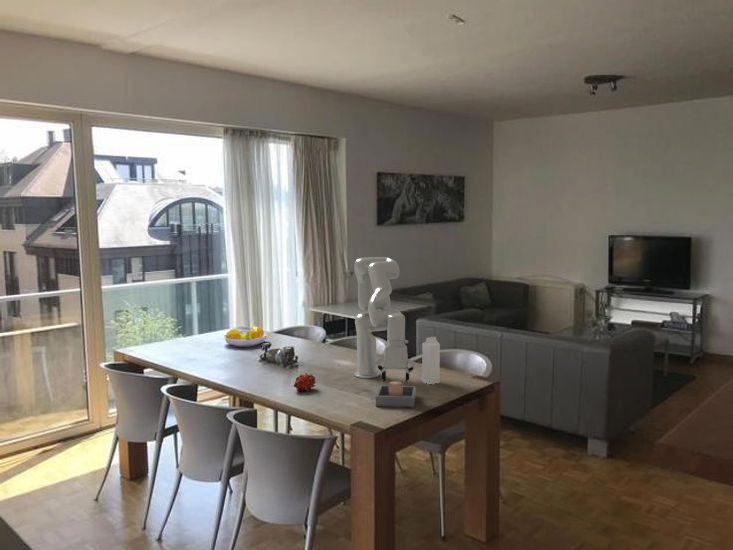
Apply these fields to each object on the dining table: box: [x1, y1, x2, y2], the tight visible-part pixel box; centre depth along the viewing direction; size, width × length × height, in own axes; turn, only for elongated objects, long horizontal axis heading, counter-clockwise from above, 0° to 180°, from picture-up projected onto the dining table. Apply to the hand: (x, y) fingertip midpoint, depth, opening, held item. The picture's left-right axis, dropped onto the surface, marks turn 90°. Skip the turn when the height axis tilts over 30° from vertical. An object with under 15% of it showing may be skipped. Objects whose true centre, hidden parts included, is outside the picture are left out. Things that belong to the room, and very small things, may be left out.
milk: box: [421, 336, 441, 385], centre depth 282 cm, size 6×6×22 cm
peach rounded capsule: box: [388, 381, 404, 397], centre depth 256 cm, size 6×6×7 cm
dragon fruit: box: [293, 372, 316, 392], centre depth 272 cm, size 8×8×12 cm
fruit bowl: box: [223, 326, 268, 348], centre depth 363 cm, size 28×27×11 cm
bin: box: [375, 384, 417, 408], centre depth 256 cm, size 16×16×4 cm
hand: (395, 380), depth 256 cm, fingers open, 9 cm apart
